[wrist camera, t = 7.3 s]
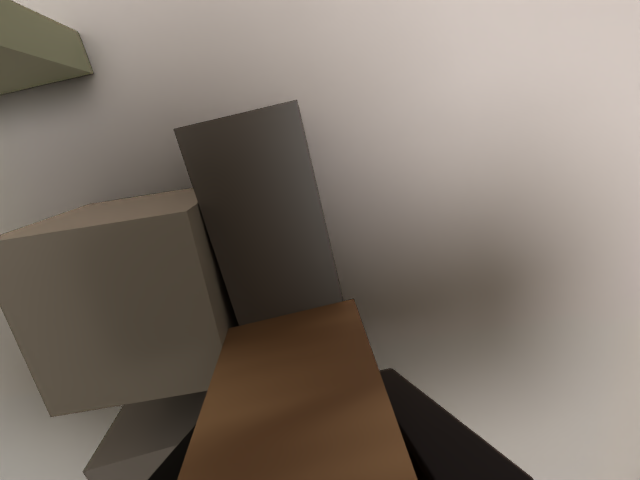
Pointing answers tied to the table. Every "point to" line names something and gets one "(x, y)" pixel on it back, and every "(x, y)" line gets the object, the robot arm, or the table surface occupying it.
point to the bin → (37, 49)
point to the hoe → (282, 319)
